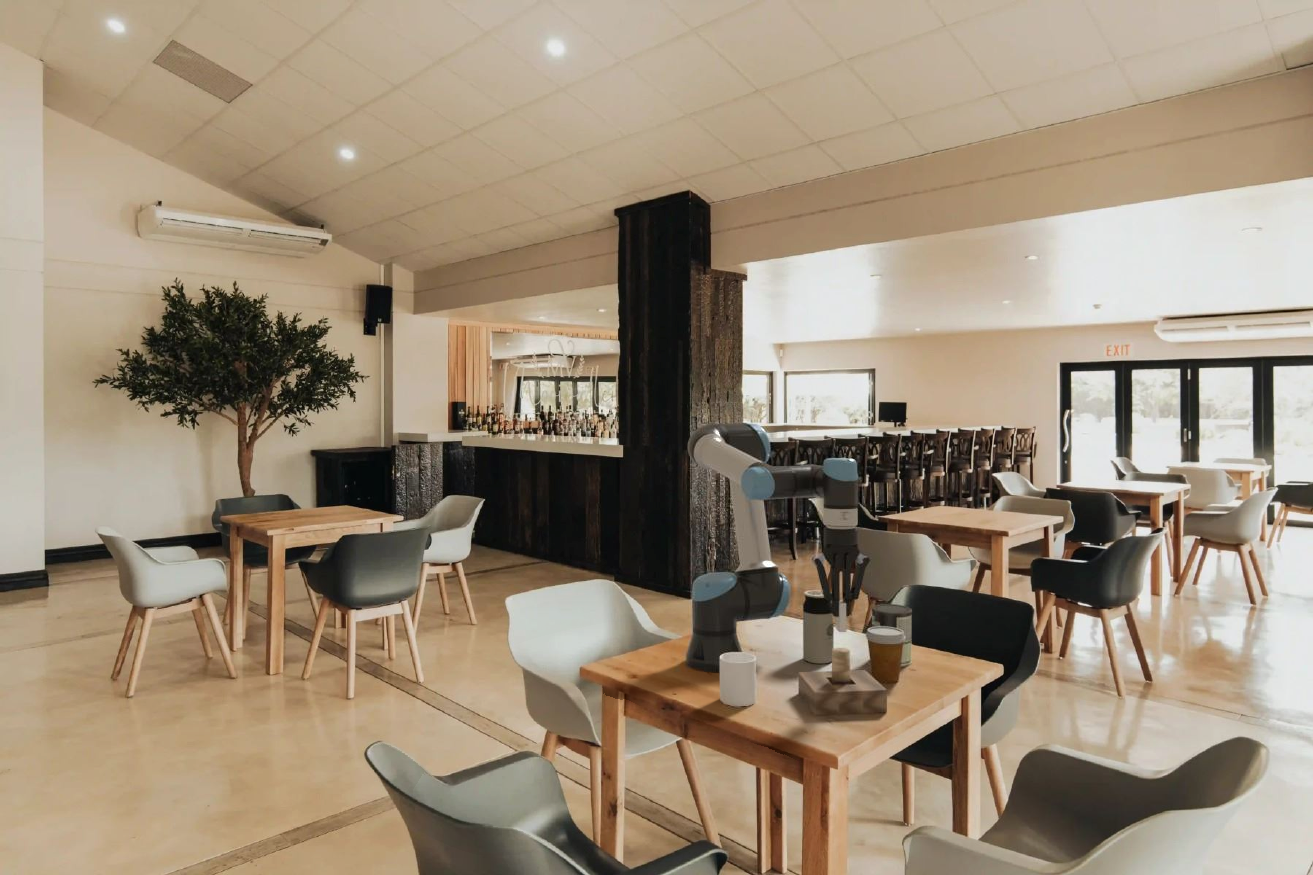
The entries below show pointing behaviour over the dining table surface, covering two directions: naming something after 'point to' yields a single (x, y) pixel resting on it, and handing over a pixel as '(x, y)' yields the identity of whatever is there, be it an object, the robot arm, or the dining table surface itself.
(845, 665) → the peg
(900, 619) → the coffee can
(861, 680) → the board
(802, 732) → the dining table surface
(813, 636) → the travel mug
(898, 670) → the disposable coffee cup
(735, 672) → the cup
